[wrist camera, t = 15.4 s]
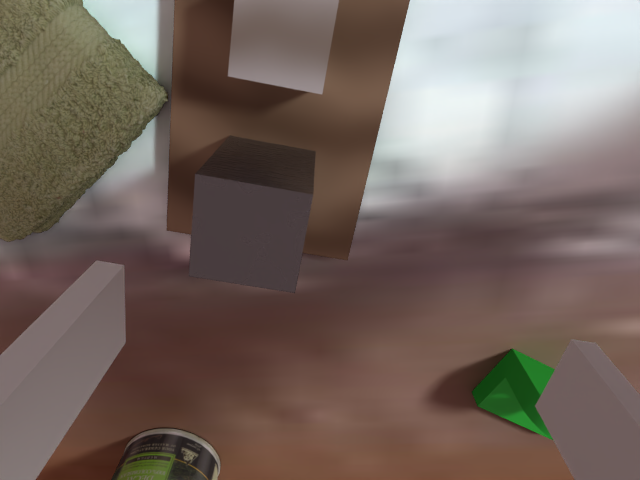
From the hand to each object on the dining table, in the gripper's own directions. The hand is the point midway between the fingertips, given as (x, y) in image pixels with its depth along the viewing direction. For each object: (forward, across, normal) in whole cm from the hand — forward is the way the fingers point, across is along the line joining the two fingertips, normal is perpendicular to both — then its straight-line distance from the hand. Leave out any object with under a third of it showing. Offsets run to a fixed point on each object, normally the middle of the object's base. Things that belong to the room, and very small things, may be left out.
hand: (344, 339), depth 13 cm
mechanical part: (+22, +24, -19) cm, 38 cm away
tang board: (+21, -5, +2) cm, 22 cm away
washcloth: (+21, -22, -1) cm, 30 cm away
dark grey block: (+20, -5, -3) cm, 20 cm away
